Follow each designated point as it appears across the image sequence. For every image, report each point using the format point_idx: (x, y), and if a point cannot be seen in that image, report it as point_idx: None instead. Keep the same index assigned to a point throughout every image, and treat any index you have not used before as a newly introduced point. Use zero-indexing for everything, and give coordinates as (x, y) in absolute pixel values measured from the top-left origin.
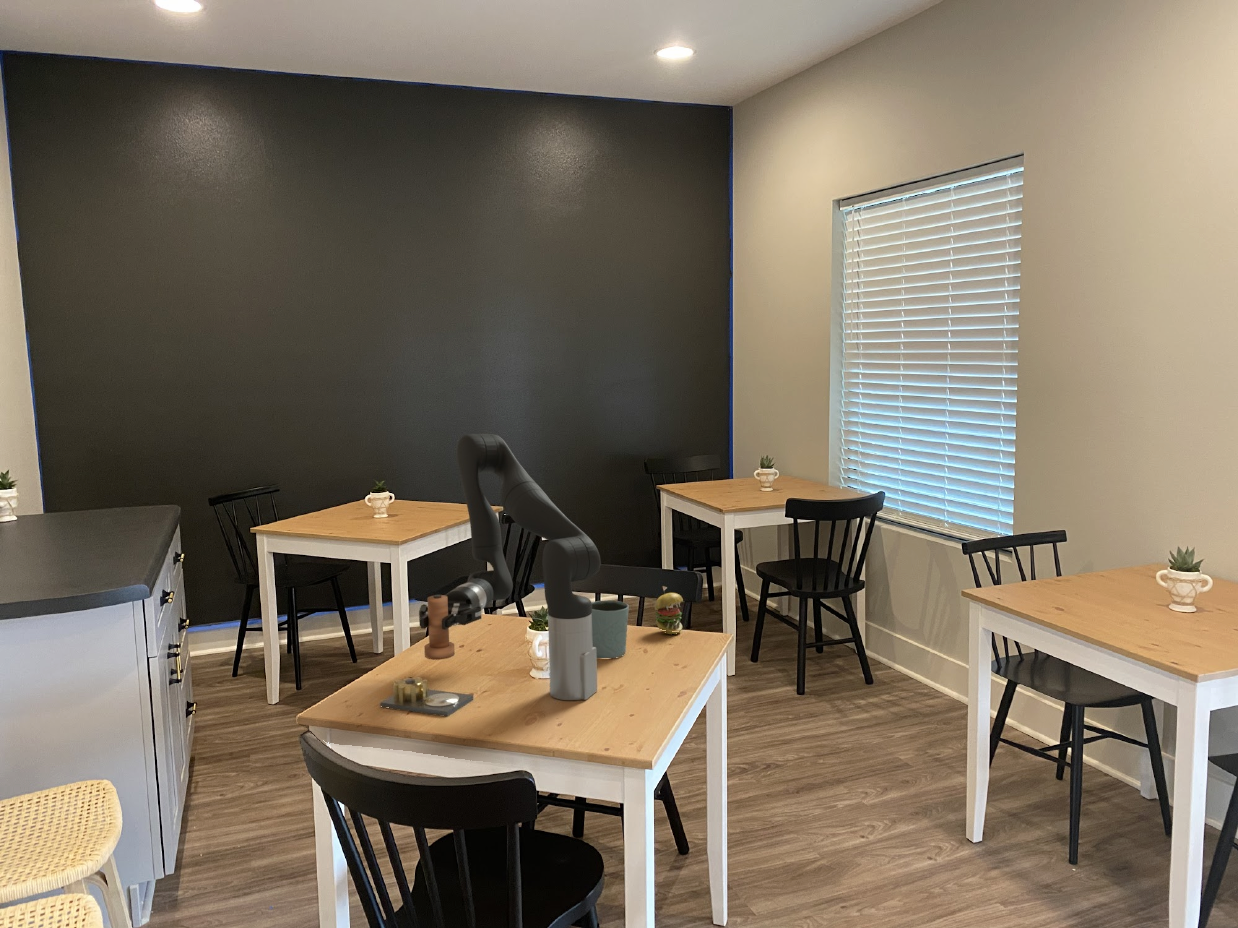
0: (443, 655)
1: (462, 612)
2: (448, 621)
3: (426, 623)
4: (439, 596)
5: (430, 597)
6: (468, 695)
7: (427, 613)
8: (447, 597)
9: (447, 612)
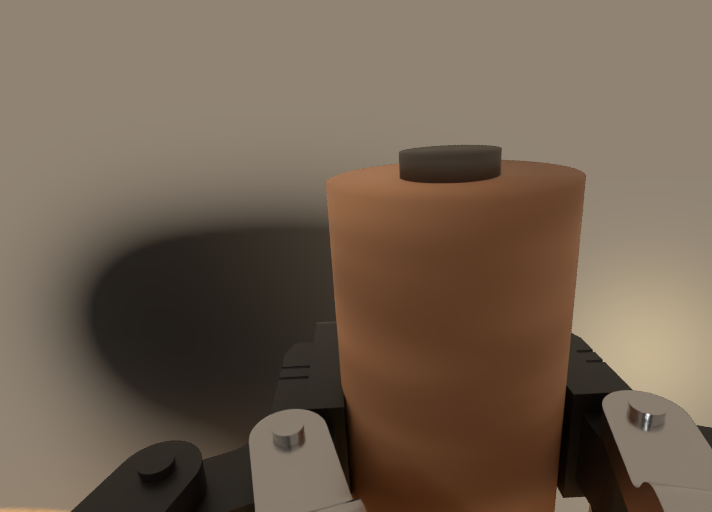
0: None
1: (167, 449)
2: (296, 349)
3: None
4: (406, 153)
5: (537, 170)
6: None
7: (626, 397)
8: (333, 196)
9: (339, 353)
